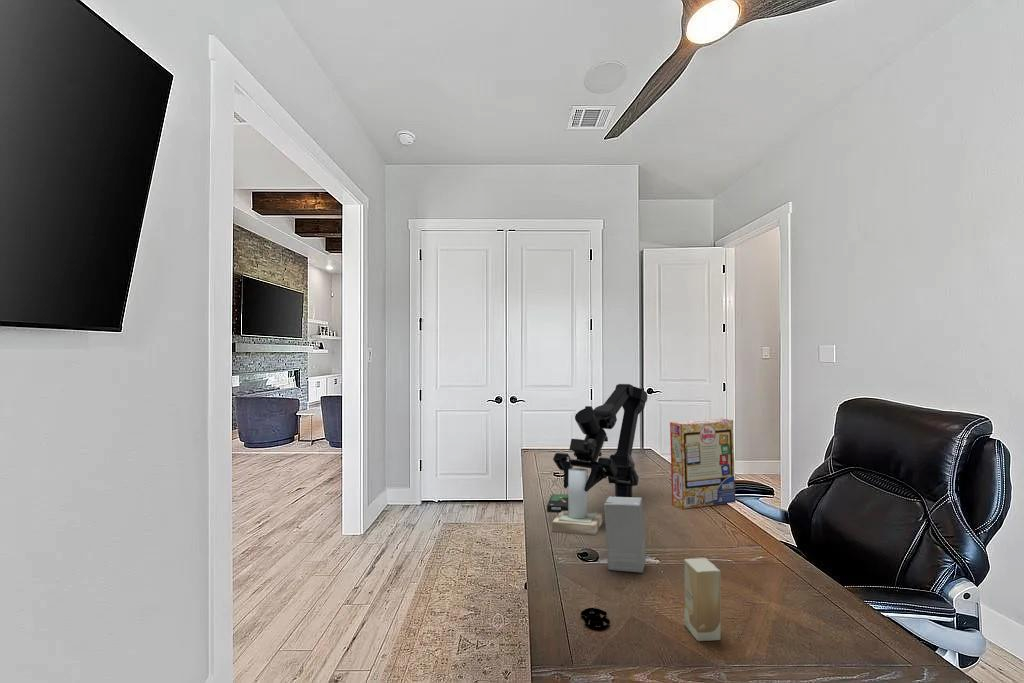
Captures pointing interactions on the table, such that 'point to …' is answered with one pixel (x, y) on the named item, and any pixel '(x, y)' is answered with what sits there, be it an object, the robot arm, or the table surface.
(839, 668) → the table surface
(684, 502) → the board game box
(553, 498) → the disk drive
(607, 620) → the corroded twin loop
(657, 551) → the table surface
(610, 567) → the skincare box
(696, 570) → the skincare box
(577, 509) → the ceramic canister
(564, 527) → the square picture frame
